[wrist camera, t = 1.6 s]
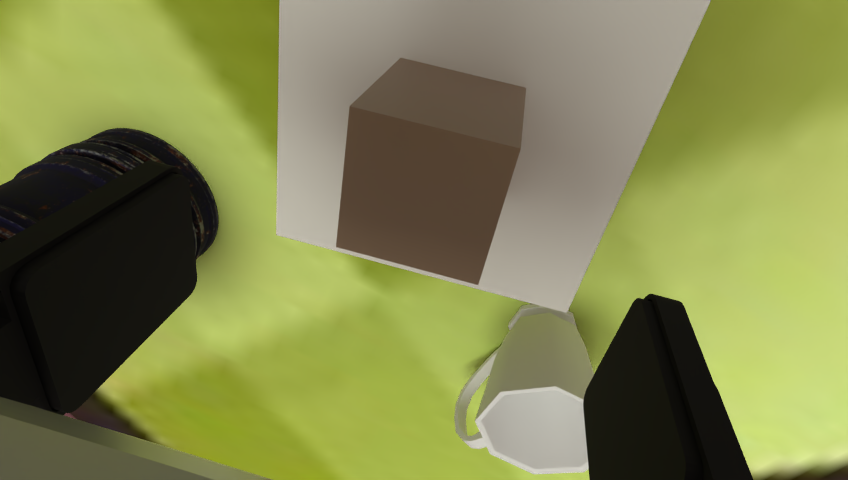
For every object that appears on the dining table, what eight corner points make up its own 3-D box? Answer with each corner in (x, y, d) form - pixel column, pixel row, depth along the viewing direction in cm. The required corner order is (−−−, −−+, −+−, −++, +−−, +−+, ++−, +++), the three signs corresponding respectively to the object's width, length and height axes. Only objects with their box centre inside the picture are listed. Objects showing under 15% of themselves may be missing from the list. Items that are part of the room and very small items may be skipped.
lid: (299, -123, 15) (166, -148, 9) (710, -33, 14) (812, -7, 9) (288, 220, 21) (208, 314, 16) (565, 294, 20) (573, 418, 15)
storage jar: (170, 110, 29) (-111, 250, 16) (246, 251, 33) (72, 443, 21) (48, 144, 32) (-265, 284, 19) (133, 269, 36) (-77, 446, 24)
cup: (624, 340, 31) (646, 453, 24) (498, 396, 36) (488, 503, 29) (556, 264, 29) (561, 365, 22) (433, 334, 34) (407, 434, 27)
